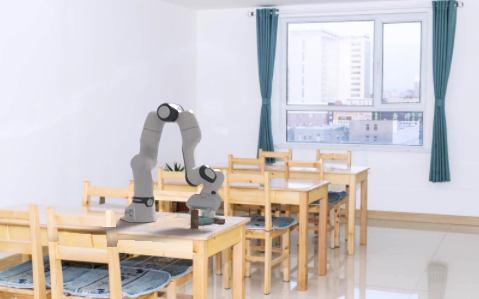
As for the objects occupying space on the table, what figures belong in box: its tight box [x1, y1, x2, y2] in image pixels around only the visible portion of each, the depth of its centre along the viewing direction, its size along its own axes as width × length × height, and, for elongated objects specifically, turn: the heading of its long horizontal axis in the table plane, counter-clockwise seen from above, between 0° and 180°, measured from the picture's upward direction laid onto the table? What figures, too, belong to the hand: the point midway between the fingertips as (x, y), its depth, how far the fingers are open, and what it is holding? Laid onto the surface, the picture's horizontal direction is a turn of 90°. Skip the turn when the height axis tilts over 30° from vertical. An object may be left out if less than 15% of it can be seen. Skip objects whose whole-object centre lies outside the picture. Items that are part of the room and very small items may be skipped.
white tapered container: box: [200, 210, 217, 217], centre depth 356 cm, size 10×10×12 cm
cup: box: [198, 215, 214, 226], centre depth 340 cm, size 9×9×4 cm
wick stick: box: [190, 209, 200, 230], centre depth 324 cm, size 3×3×10 cm
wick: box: [213, 215, 226, 225], centre depth 344 cm, size 10×3×3 cm, turn 32°
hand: (196, 214), depth 325 cm, fingers open, 8 cm apart
